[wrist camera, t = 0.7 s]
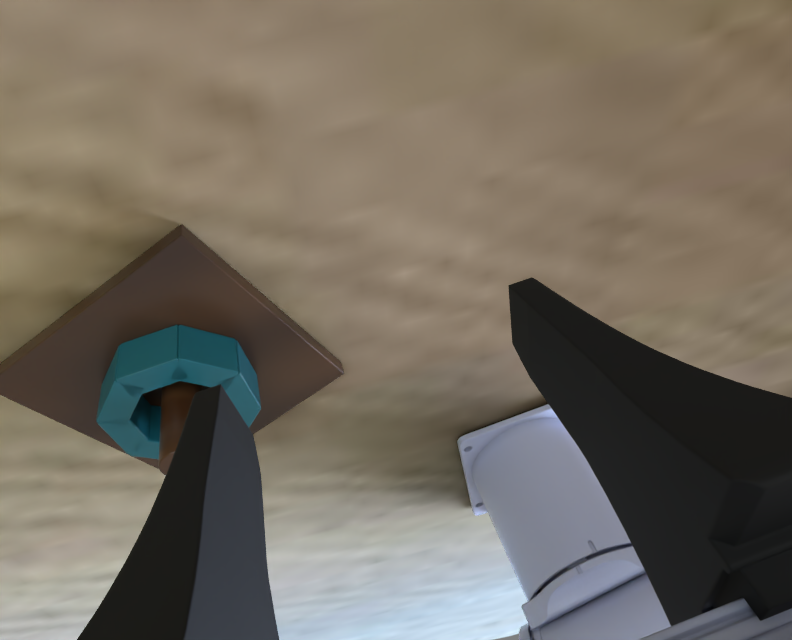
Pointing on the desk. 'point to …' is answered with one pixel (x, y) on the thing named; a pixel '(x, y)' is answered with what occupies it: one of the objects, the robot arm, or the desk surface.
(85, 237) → the desk surface
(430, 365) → the desk surface
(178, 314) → the ring toss
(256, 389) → the ring
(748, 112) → the desk surface
